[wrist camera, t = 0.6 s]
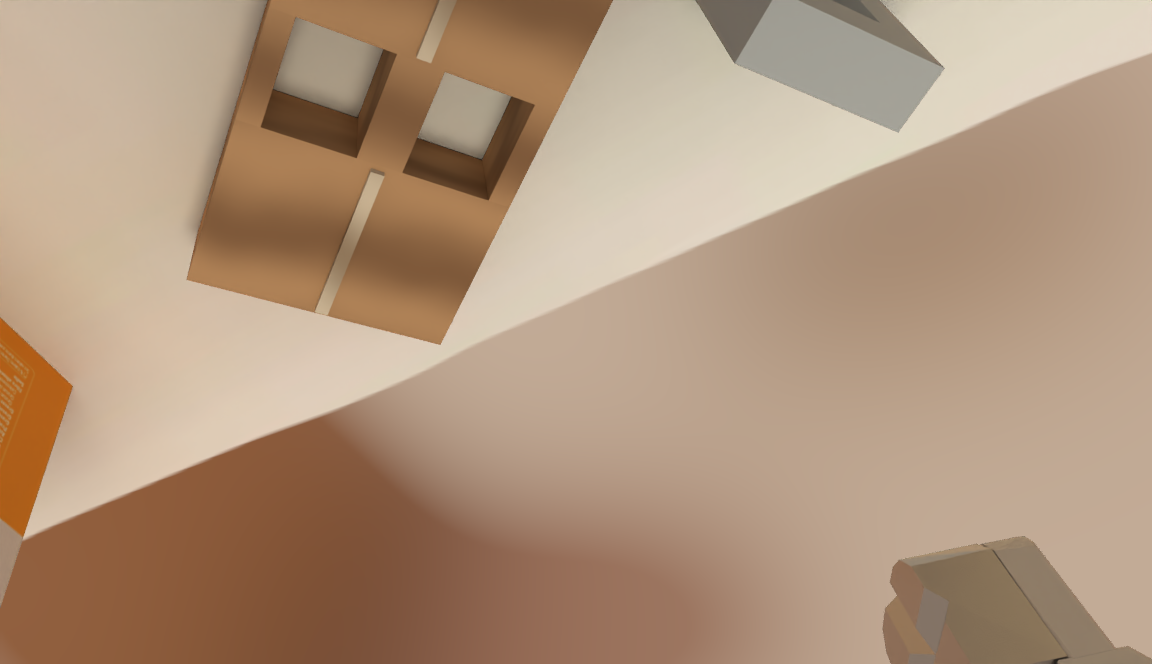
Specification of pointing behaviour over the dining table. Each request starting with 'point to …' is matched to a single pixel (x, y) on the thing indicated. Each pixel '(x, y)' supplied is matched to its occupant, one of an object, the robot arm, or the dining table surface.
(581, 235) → the dining table surface
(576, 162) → the dining table surface
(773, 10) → the grey u-shaped block
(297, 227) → the wooden compartment tray
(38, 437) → the cereal box
